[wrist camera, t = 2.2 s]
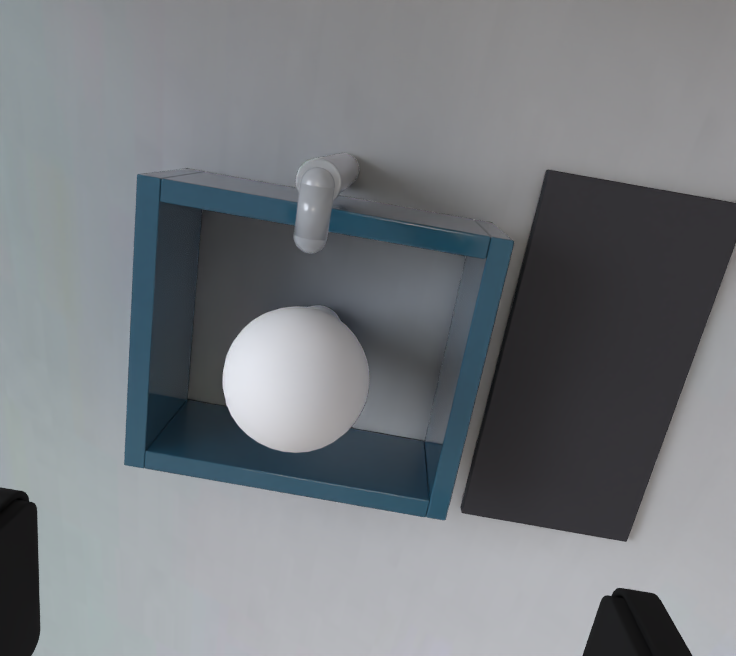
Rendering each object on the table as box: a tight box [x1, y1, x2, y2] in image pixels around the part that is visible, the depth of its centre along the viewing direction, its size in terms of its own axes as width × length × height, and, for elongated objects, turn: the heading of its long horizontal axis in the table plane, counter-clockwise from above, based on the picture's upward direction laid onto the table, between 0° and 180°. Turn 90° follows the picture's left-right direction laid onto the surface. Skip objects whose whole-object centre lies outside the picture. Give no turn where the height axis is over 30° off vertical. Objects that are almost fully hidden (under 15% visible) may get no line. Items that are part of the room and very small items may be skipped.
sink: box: [124, 153, 514, 520], centre depth 27 cm, size 16×16×11 cm
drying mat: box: [461, 170, 736, 542], centre depth 32 cm, size 10×20×1 cm, turn 170°
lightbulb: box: [223, 305, 370, 453], centre depth 27 cm, size 6×6×11 cm
